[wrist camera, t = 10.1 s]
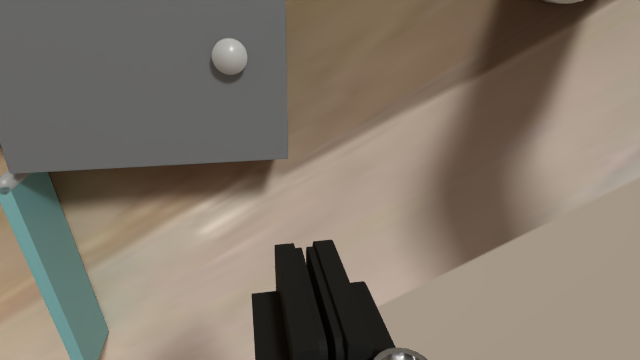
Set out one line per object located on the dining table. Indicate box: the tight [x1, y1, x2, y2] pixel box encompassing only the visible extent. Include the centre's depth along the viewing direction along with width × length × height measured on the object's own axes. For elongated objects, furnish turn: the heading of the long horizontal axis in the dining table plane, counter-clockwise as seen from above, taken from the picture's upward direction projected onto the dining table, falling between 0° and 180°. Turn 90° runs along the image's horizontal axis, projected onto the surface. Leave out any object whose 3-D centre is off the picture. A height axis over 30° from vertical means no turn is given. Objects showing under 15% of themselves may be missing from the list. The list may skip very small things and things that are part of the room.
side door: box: [0, 170, 109, 360], centre depth 36 cm, size 20×1×6 cm, turn 4°
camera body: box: [0, 0, 288, 174], centre depth 31 cm, size 22×12×7 cm, turn 89°
